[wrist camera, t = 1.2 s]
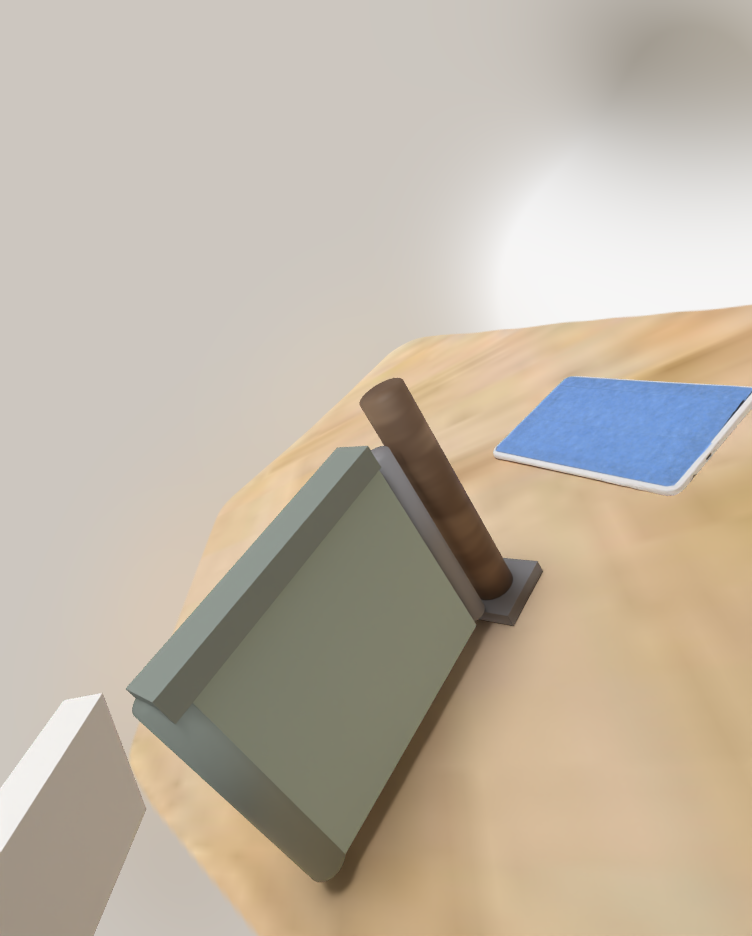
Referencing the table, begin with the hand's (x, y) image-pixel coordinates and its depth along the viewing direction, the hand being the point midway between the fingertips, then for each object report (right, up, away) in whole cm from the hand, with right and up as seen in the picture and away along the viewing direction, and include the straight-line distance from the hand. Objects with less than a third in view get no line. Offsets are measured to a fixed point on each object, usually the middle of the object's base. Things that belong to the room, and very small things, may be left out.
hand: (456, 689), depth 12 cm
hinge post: (+7, -5, +36) cm, 37 cm away
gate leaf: (0, -12, +29) cm, 31 cm away
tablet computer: (+19, +7, +45) cm, 49 cm away
